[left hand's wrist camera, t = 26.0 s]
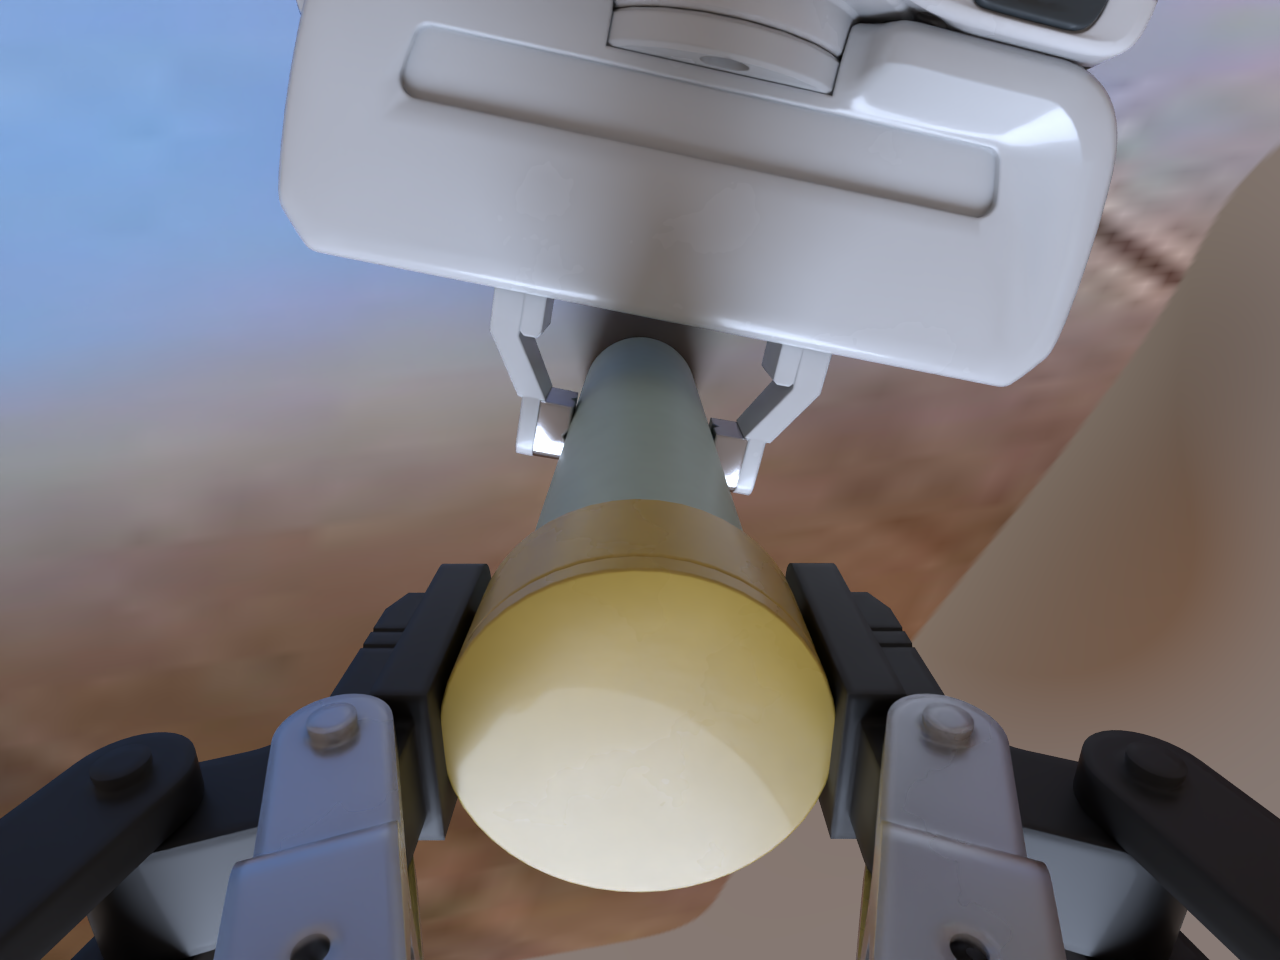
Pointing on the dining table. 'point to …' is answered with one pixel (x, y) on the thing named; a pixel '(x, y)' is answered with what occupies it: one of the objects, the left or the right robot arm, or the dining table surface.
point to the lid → (638, 701)
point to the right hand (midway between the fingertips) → (635, 468)
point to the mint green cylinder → (639, 437)
